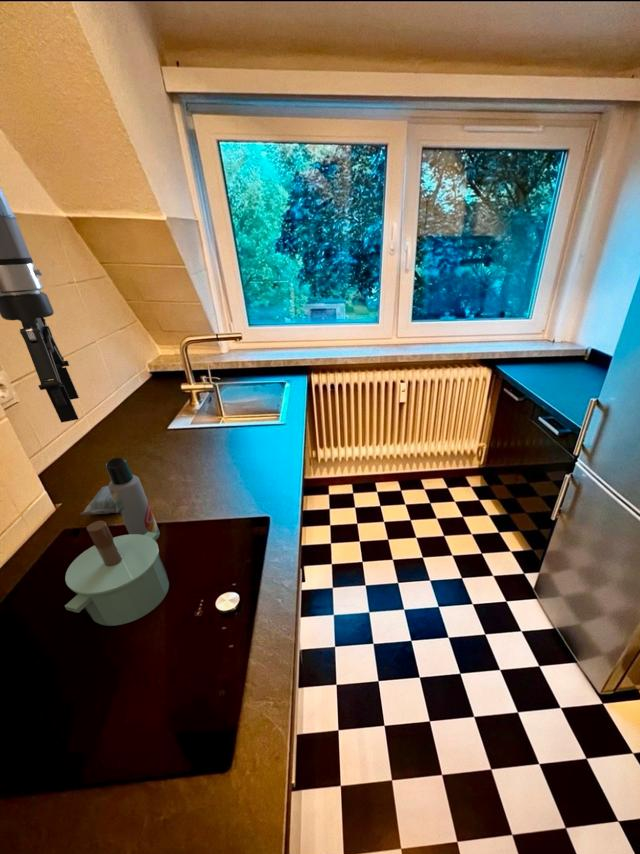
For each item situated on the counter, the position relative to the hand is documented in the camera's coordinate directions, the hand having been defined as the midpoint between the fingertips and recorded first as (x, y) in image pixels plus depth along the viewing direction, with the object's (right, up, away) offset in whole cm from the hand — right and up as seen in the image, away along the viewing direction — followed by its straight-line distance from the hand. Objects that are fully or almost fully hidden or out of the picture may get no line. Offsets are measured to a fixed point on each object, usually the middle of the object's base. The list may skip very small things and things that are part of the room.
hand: (70, 409), depth 78 cm
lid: (+14, -29, -9) cm, 34 cm away
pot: (+15, -36, -4) cm, 39 cm away
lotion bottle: (+10, -28, +10) cm, 31 cm away
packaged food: (-5, -21, +20) cm, 30 cm away
